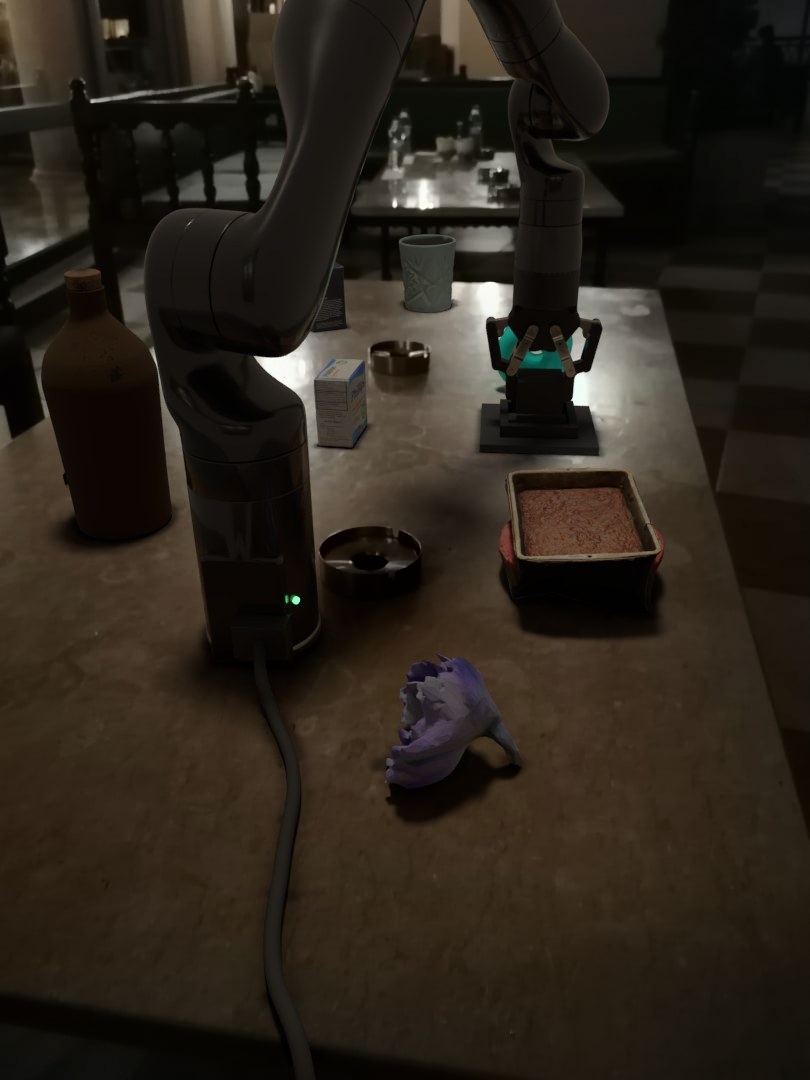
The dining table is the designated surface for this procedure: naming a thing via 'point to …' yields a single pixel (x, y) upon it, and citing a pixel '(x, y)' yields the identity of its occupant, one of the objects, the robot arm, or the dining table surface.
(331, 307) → the small box
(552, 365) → the donuts
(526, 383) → the black square block
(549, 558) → the baking dish
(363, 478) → the dining table surface
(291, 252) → the robot arm
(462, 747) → the flower
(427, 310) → the grey green cup
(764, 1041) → the dining table surface
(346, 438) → the medicine box
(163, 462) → the olive oil
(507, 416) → the socket pad
